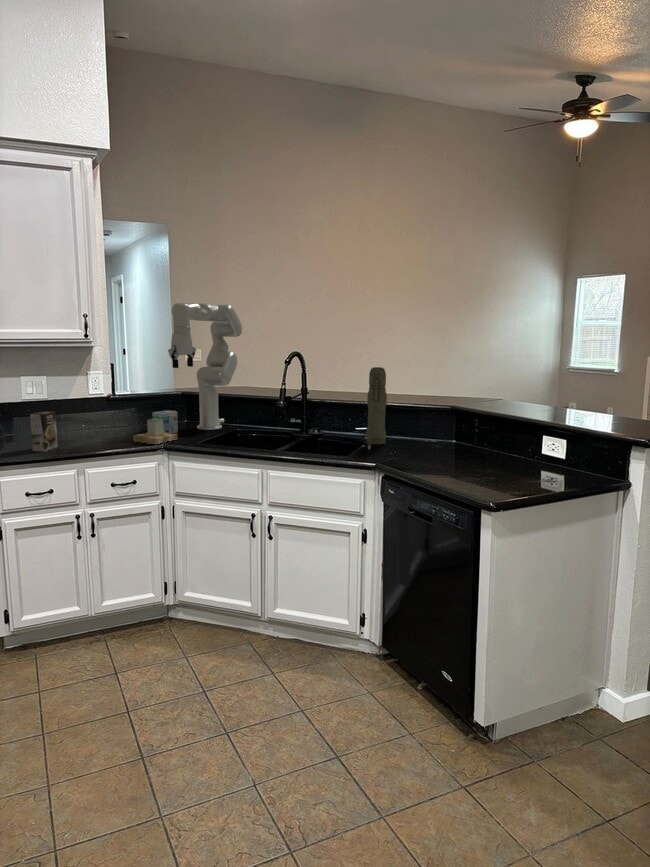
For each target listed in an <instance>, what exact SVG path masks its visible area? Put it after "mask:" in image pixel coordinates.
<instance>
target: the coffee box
mask: <svg viewBox="0 0 650 867" xmlns="http://www.w3.org/2000/svg"><path fill="white" fill-rule="evenodd" d="M29 415H30V429H31V431H30V432H31V446H32V447H31V448H32V451H33V452H43V453H46V452H48V450H49V451H51V449H52V450H54V448H55V449H58V448H57V447H58V434H57V433H58V432H57V429H58V428H57V417H56V411H49V410H48V411H38V412H34V413H30V414H29Z"/></svg>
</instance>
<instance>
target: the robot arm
mask: <svg viewBox="0 0 650 867" xmlns="http://www.w3.org/2000/svg"><path fill="white" fill-rule="evenodd" d="M171 315H172V320H173V322H172V324H173V333H172V334H171V342H170V343H171V344H170V348H169V349H167V352H168V355H169V357H170V358H171V362H172V364H171V365H172V366H171V367H172V368H173V369H179V359H178V358H179V356H187V358H186V365H187V367H194V357H195V355H196V351H197V348H196V347H194V346H193V338H192V333H191V321H198V322H199V321H200V322H212V323H211V324H210V334H211V339H212V345H211V349H210V350H209V352H208V355H207V357H206V361H205V362H206V366H202V367H200V368H199V369H197V372H196V381H197V384H198V396H199V397H198V400H199V424H198V425H197V426H196V428H197V429H198V430H201V431H202V430H203V431H211V430H212V431H215V430H220V429H222V428H223V427H222V426H223V425H222V424H221V423H224V422H225V419H224V418H219V392H218V391H217V388H216V387H226V386H228V385H229V384H230V382H231V381H232V378H233V376H234V374H235V371H236V369H237V365H238V357H237V354H236V353H235V352H233V351H229V344H228V342H227V341H226V339H225V337H228V338H237V337H240V336H241V334H242V333H243V325H242V322H241V320H240V318H239V316H238V314H237V312H236V310H235V309H234V308H233V306H231V304H213V303H194V302H192V303H191V302H190V303H189V302H187V303H186V302H184V303H183V302H178V303H174V304H173V305H172V308H171Z"/></svg>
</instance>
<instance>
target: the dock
mask: <svg viewBox="0 0 650 867" xmlns="http://www.w3.org/2000/svg"><path fill="white" fill-rule="evenodd" d="M146 433H147V432H146ZM146 433H140V434H139V433H138V434H135V435H132V437H133V438H132V439H133V442H134V441H135V442H134V443H136V442H141V443H140V444H142V443H147V444H146V445H148V444H155V445H156V444H160V443H163V442H167V441H172V440H177V439H178V438H179V436H178V433H173V434H172V433H166V432H165V435H161V436H156V437H154V436H148V435H146ZM178 440H179V439H178ZM160 445H161V444H160ZM156 446H157V445H156Z"/></svg>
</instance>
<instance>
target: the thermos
mask: <svg viewBox="0 0 650 867" xmlns="http://www.w3.org/2000/svg"><path fill="white" fill-rule="evenodd" d="M386 380H387V374H386V370H385V368H384V367H382V366H381V367H380V366H379V367H374V366H373V367H371V368H370V371H369V374H368V385H369V386H368V387H369V388H368V392H367V397H366V398H367V399H366V402H367V405H366V406H367V408H368V409H367V428H366V438H365V439H366V444H367V443H368V444H367V445H369V444H384V445H386V439H387V430H386V408H387V404H388V403H387V401H388V400H387V398H388V396H387V395H388V394H387V390H386V385H387V384H386V382H387V381H386Z"/></svg>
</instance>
